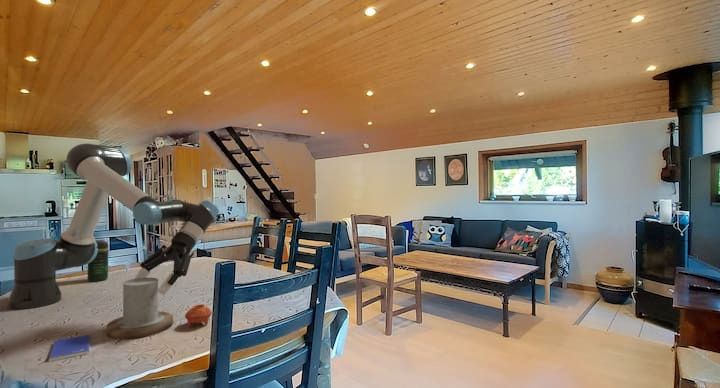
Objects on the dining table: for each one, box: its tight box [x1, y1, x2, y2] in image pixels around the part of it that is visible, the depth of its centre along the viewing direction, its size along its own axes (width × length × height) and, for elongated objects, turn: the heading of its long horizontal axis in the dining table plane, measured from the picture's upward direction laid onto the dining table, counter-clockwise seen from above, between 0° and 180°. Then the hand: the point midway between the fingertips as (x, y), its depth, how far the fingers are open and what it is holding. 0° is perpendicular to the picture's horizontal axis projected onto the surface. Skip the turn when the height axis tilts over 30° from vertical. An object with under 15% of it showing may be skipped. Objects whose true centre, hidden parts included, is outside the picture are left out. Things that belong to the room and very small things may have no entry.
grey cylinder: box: [122, 277, 159, 326], centre depth 114 cm, size 10×10×12 cm
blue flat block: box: [48, 334, 92, 363], centre depth 99 cm, size 2×8×12 cm
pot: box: [184, 304, 213, 328], centre depth 118 cm, size 8×8×7 cm
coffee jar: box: [87, 239, 109, 282], centre depth 172 cm, size 10×8×19 cm
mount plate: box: [105, 310, 174, 340], centre depth 114 cm, size 18×18×2 cm
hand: (146, 290), depth 115 cm, fingers open, 13 cm apart
